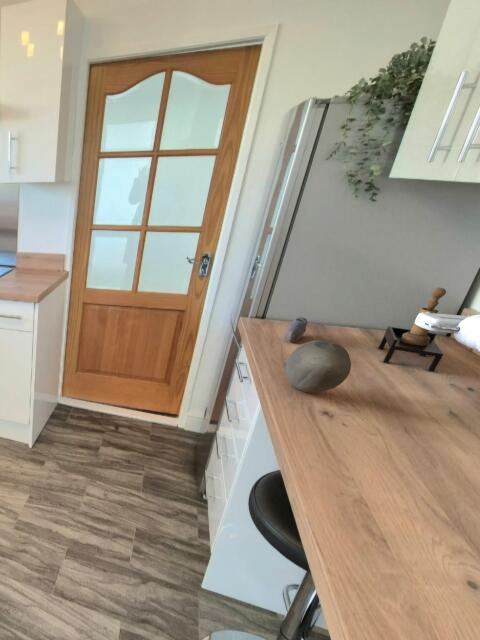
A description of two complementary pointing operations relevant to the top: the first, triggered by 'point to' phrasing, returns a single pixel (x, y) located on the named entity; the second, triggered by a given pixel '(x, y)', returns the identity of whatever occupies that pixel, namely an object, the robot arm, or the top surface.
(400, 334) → the tray
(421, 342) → the mortar and pestle
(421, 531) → the top surface
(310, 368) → the cantaloupe
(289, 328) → the perforated stone tool
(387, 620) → the top surface
